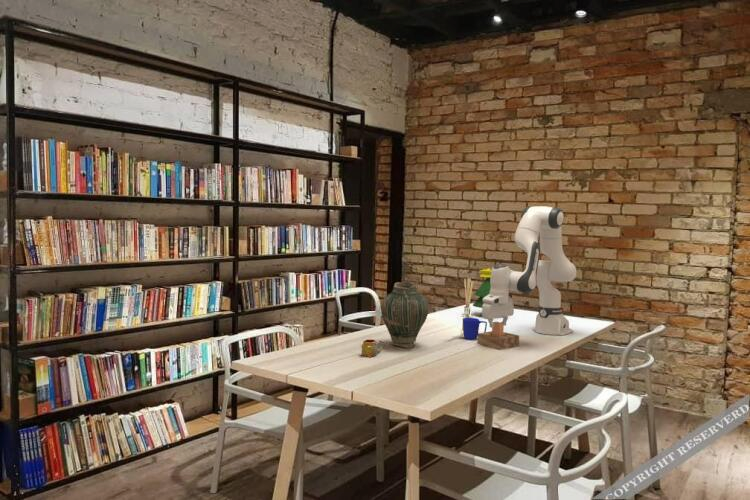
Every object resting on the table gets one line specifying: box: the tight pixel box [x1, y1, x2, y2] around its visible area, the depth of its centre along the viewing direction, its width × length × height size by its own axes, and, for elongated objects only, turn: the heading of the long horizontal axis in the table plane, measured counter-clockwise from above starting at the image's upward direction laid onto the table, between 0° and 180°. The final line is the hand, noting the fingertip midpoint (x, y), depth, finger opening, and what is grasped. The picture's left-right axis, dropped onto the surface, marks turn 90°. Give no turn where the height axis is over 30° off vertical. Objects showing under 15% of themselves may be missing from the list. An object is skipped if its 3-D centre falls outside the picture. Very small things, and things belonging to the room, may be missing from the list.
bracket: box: [491, 321, 506, 337], centre depth 273 cm, size 4×4×11 cm
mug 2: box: [462, 317, 488, 341], centre depth 285 cm, size 8×12×10 cm
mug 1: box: [360, 338, 385, 358], centre depth 249 cm, size 12×7×7 cm, turn 131°
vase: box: [380, 281, 430, 349], centre depth 266 cm, size 22×22×30 cm
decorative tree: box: [472, 267, 492, 309], centre depth 350 cm, size 19×19×30 cm
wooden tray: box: [476, 330, 520, 351], centre depth 274 cm, size 14×14×5 cm
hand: (497, 326), depth 273 cm, fingers open, 8 cm apart
